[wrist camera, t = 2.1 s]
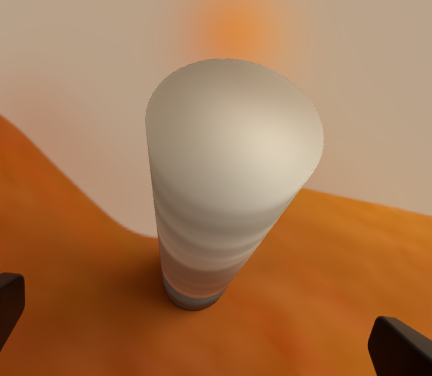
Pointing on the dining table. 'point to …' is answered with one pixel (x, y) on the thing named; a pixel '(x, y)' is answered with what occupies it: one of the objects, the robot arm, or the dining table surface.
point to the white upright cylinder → (224, 168)
